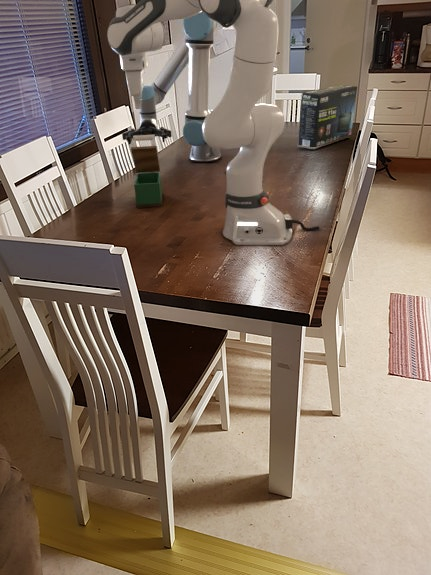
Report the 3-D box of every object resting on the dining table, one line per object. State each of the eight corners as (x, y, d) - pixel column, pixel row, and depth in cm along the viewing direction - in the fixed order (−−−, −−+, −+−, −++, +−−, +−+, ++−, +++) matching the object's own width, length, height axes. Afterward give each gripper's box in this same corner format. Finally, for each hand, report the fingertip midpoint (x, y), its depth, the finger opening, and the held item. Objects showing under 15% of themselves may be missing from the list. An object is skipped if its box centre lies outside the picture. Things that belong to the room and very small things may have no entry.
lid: (156, 148, 166) (155, 129, 169) (130, 149, 166) (130, 130, 169) (160, 171, 180) (159, 154, 183) (136, 172, 179) (135, 155, 182)
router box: (314, 151, 231) (318, 94, 217) (296, 148, 237) (299, 92, 224) (352, 138, 251) (358, 85, 238) (335, 135, 258) (340, 83, 245)
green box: (161, 206, 173) (159, 183, 169) (137, 207, 173) (133, 184, 168) (162, 193, 185) (160, 171, 180) (139, 195, 185) (136, 173, 180)
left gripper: (177, 135, 204) (178, 147, 186) (120, 138, 202) (116, 151, 184) (175, 117, 200) (176, 128, 182) (118, 120, 198) (113, 131, 180)
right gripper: (126, 59, 161) (131, 101, 168) (121, 65, 143) (127, 112, 150) (144, 58, 161) (149, 100, 168) (142, 64, 144) (147, 111, 151)
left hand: (146, 139), depth 183 cm, fingers open, 13 cm apart
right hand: (139, 106), depth 159 cm, fingers open, 8 cm apart
